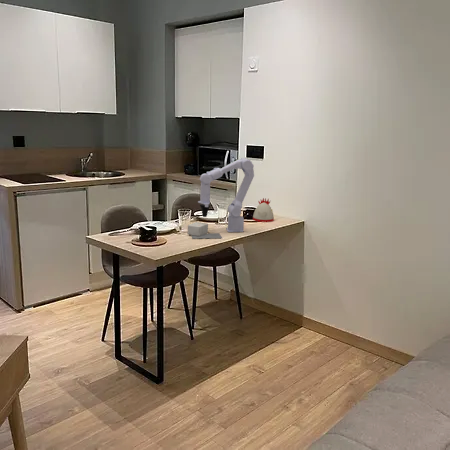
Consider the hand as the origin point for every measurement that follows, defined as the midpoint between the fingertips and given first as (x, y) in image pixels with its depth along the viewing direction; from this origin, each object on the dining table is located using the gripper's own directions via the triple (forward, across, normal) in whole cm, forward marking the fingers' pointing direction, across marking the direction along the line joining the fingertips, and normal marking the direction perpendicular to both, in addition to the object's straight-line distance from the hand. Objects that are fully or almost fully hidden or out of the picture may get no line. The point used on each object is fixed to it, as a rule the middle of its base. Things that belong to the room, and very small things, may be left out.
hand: (204, 216), depth 283 cm
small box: (+6, +2, -1) cm, 6 cm away
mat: (+9, +12, -1) cm, 15 cm away
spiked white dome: (+9, -28, +44) cm, 53 cm away
